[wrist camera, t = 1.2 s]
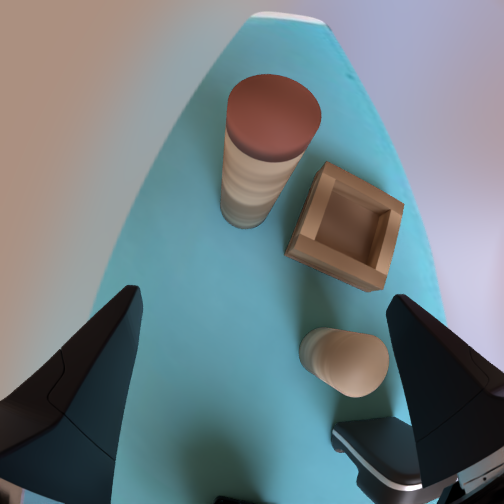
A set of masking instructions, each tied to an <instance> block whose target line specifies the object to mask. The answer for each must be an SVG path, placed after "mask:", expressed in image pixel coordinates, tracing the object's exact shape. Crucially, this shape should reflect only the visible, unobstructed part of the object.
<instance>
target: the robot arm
mask: <svg viewBox="0 0 504 504" xmlns="http://www.w3.org/2000/svg"><path fill="white" fill-rule="evenodd" d="M142 313H143V302H142V297H141V291H140V288H139V286H136V285H127V286H125V287H124V288H123V289H122V290H121V291H120V292H119V293H118V294H116V295H115V296H114V297H113V298H112V299H111V300H110V301H109V302H108V303H107V304H106V305H105V306H104V307H102V308H101V309H100V310H99V311H98V312H97V313H96V314H95V315H94V316H93V317H92V318H91V319H90V320H89V321H88V322H87V323H86V324H85V325H84V326H83V327H82V328H81V329H79V331H77V332H76V333H75V334H74V335H73V336H72V337H71V338H70V339H69V340H68V341H67V342H66V343H65V344H64V345H63V346H62V347H61V349H59V350H58V351H57V352H56V353H55V354H54V355H53V356H52V357H51V358H50V359H49V360H48V361H47V362H46V363H45V364H44V365H43V366H42V367H41V368H40V369H39V370H37V371H36V372H35V373H34V374H33V375H32V376H31V377H29V378H28V379H27V380H26V381H25V382H23V383H22V384H21V385H20V386H19V387H18V388H17V389H15V390H14V391H13V392H12V393H11V394H10V395H8V396H7V397H6V398H4V399H3V400H1V401H0V504H111V494H112V485H113V477H114V469H115V460H116V454H117V448H118V442H119V436H120V430H121V424H122V419H123V414H124V409H125V404H126V399H127V394H128V389H129V384H130V380H131V376H132V371H133V367H134V363H135V358H136V354H137V349H138V342H139V334H140V327H141V320H142ZM386 318H387V323H388V328H389V333H390V338H391V343H392V348H393V352H394V356H395V359H396V363H397V366H398V370H399V374H400V378H401V381H402V385H403V389H404V393H405V397H406V402H407V406H408V410H409V415H410V419H411V424H412V429H413V434H414V439H415V445H416V451H417V457H418V463H419V470H420V477H421V484H422V488H423V489H424V488H427V487H429V486H431V485H434V484H436V483H438V482H440V481H443V480H445V479H447V478H449V477H451V476H453V475H455V474H457V477H458V481H457V482H455V483H453V484H451V485H449V486H447V487H445V488H444V489H443V491H442V493H441V496H440V498H439V500H438V502H437V504H504V373H503V372H502V371H501V370H499V369H498V368H497V367H495V366H494V365H493V364H491V363H490V362H489V361H487V360H486V359H485V358H484V357H482V356H481V355H480V354H479V353H477V352H476V351H475V350H474V349H473V348H472V347H470V346H468V344H467V343H466V342H464V341H463V340H462V339H461V338H459V337H458V336H457V335H456V334H455V333H453V332H452V331H451V330H450V329H448V328H447V327H446V326H445V325H444V324H442V323H441V322H440V321H439V320H437V319H436V318H435V317H434V316H432V315H431V314H430V313H428V312H427V311H426V310H425V309H423V308H422V307H421V306H419V305H418V304H417V303H416V302H414V301H413V300H412V299H410V298H409V297H408V296H406V295H405V294H396V295H395V296H394V297H393V299H392V301H391V302H390V304H389V306H388V308H387V310H386ZM220 500H222V502H220ZM213 504H255V503H250V502H245V501H239V500H235V499H231V498H227V497H223V496H219V497H217V498H216V499H215V500H214V502H213Z"/></svg>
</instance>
